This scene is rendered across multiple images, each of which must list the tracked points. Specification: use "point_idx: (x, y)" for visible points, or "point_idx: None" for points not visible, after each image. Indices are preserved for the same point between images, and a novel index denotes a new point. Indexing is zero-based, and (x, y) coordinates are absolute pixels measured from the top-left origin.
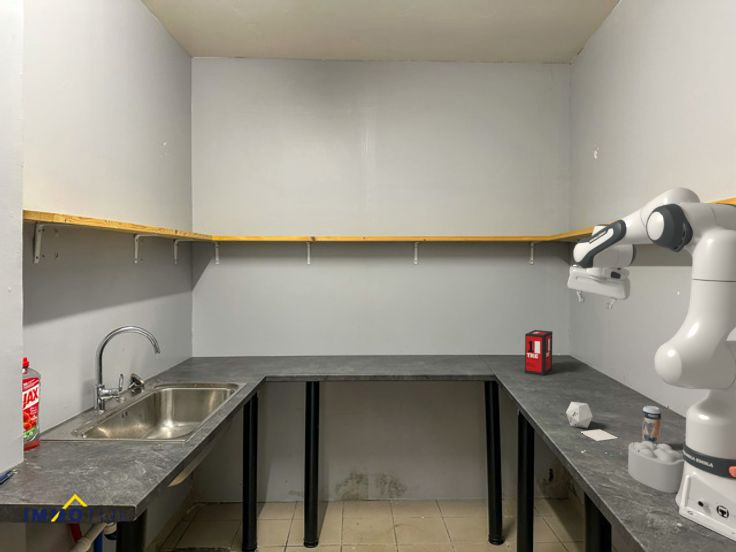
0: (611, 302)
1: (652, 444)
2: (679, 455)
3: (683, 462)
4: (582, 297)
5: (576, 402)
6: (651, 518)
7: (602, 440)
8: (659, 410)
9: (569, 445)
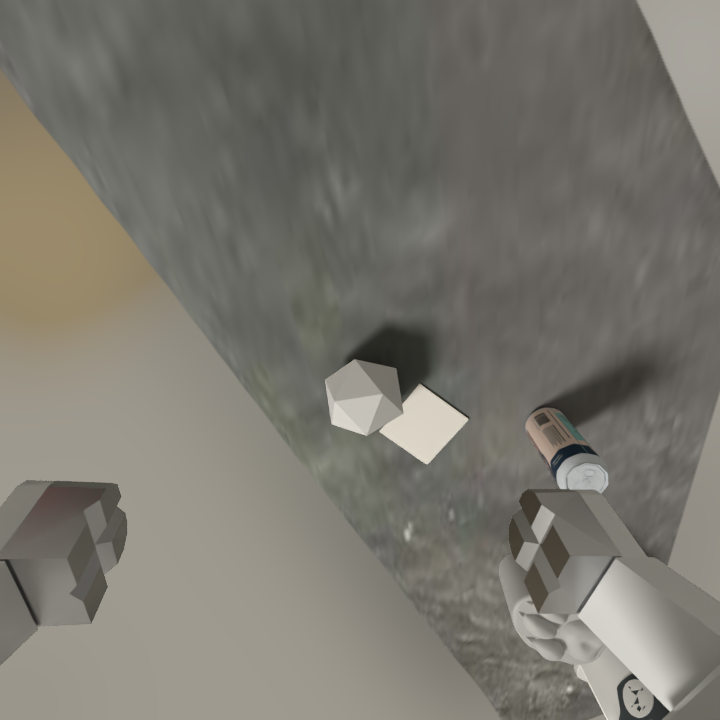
0: (634, 670)
1: (563, 623)
2: None
3: None
4: (34, 588)
5: (349, 400)
6: (534, 692)
7: (436, 453)
8: (606, 484)
9: (377, 518)
